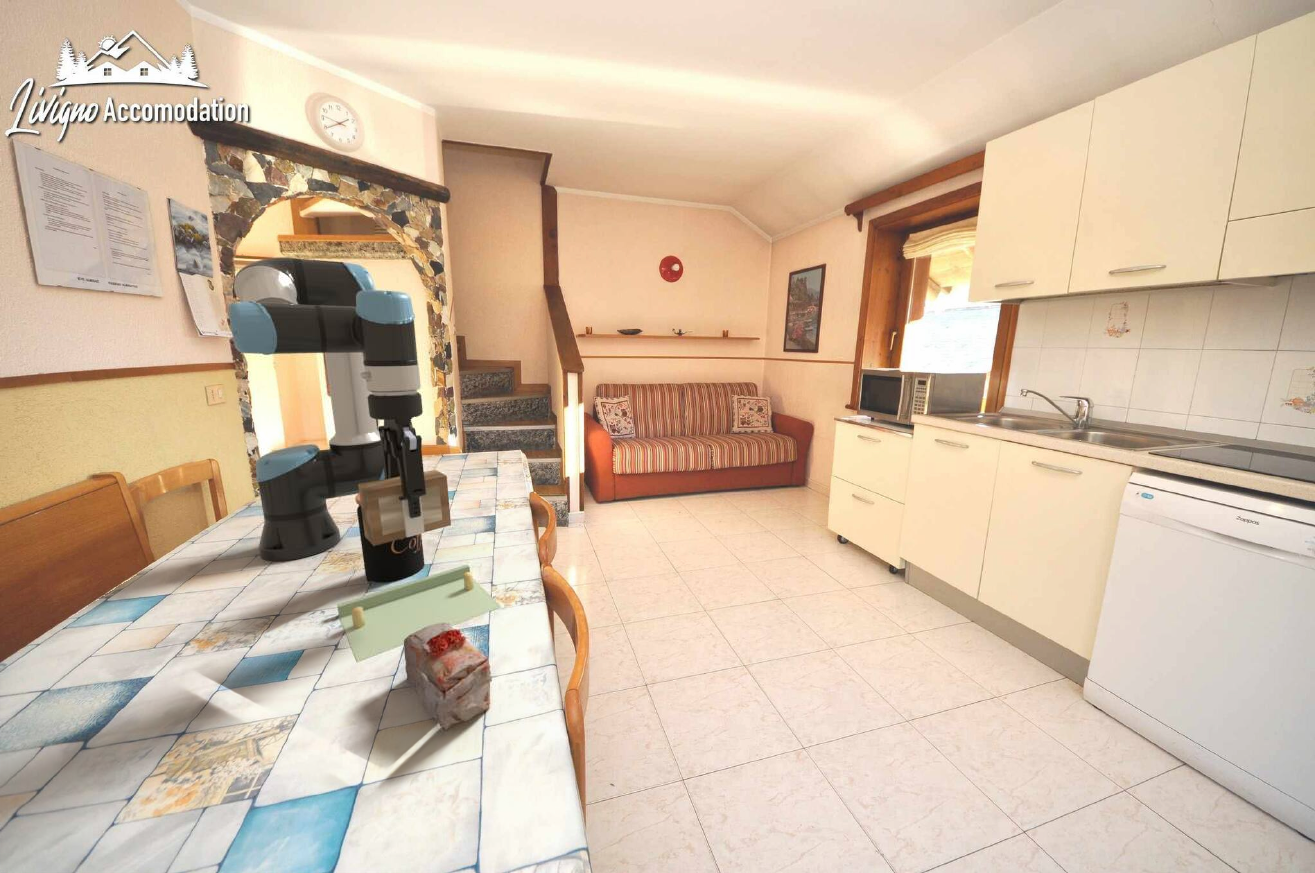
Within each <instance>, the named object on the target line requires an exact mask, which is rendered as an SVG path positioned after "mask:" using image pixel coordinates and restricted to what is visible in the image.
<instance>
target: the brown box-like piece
mask: <svg viewBox="0 0 1315 873" xmlns="http://www.w3.org/2000/svg"><path fill="white" fill-rule="evenodd" d="M424 479H425V489H426V495H423V496H421V501H422V511H423V521H424V531H425V533H428V532H431V531H435V530H438V529H442V528H446V527H449V526H452V521H451V509H450V508H451V506H450V498H449V496H450V495H449V487H448V477H447V475H446V474H445V473H442V472H440V471H438V470H437V469H433V470H428V471H424ZM358 487H359V494H360V502H361V510H362V517H363V525H364V533H365V537H366V538H367V539H368V540H369V541H370V542H371V544H372V545H373V546H376V545H380V544H383V543H387V542H391V541H394V540H398V539H402V538H406V534H405V525H404V516H403V507H402V501H400V500H399V497H402V496H403V490H402V484H401V479H400V476H399V477H394V478H389V479H383V480H378V481H372V482H367V483H361V484H358Z"/></svg>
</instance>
